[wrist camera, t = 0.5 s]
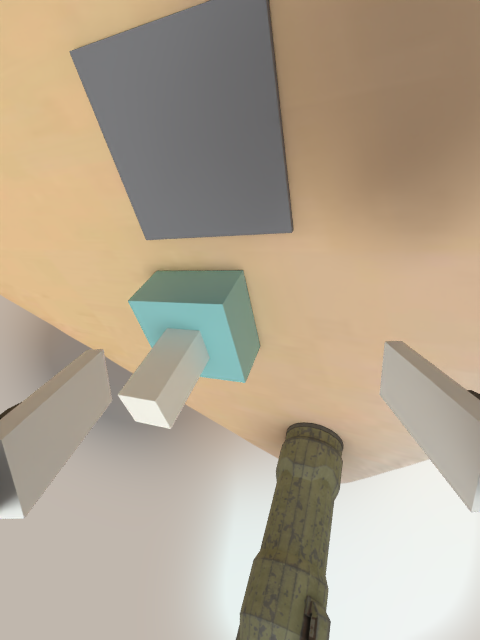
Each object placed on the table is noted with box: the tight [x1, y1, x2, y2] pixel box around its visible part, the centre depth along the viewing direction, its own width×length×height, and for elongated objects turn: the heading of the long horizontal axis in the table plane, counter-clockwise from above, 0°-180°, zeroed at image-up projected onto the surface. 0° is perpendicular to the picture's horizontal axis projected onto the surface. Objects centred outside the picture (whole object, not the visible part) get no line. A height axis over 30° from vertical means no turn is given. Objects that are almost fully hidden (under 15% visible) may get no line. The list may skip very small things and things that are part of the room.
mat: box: [69, 0, 293, 240], centre depth 27 cm, size 16×16×1 cm
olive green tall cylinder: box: [236, 423, 343, 640], centre depth 38 cm, size 9×12×35 cm
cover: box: [118, 270, 260, 429], centre depth 34 cm, size 11×11×15 cm
